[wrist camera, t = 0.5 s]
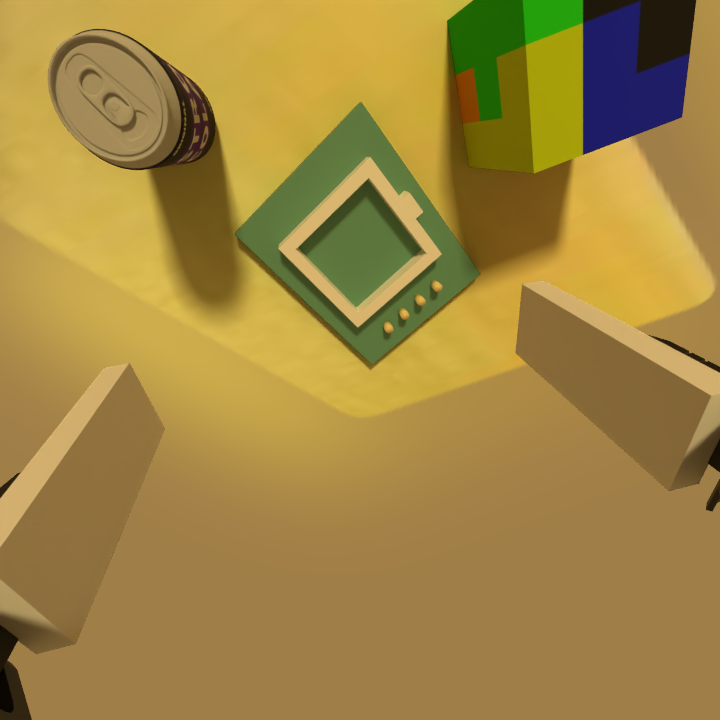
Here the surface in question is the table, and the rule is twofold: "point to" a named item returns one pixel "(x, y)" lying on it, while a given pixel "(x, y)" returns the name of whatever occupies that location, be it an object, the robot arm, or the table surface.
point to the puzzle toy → (566, 75)
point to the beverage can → (128, 102)
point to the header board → (360, 239)
